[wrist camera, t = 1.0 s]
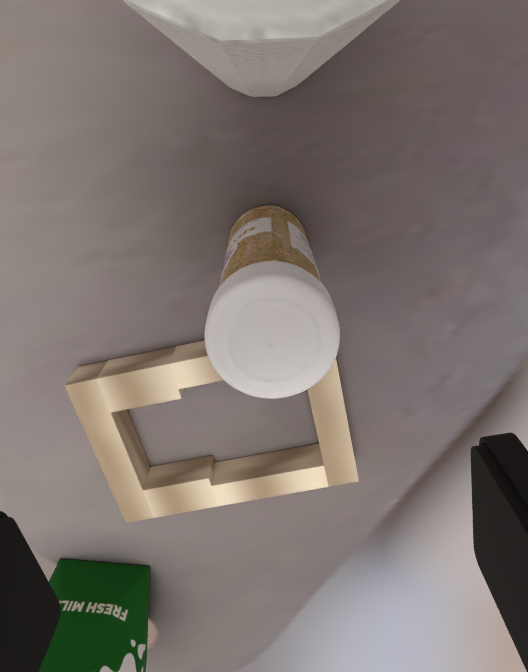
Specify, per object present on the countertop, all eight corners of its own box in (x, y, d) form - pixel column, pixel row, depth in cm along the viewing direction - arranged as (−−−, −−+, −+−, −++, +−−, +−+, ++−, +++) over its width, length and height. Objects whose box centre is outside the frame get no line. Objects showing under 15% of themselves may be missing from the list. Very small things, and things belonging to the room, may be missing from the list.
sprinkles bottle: (229, 202, 27) (202, 273, 15) (311, 206, 28) (350, 279, 15) (227, 281, 29) (202, 401, 17) (304, 284, 29) (335, 406, 17)
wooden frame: (326, 315, 30) (330, 330, 28) (352, 458, 35) (358, 481, 32) (78, 366, 32) (64, 385, 29) (134, 497, 36) (125, 522, 34)
